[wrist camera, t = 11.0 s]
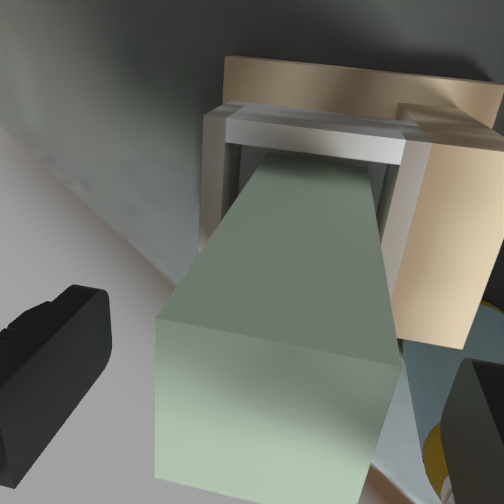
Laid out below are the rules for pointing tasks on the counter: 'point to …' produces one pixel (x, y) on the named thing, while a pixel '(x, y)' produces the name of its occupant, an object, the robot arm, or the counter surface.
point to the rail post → (280, 343)
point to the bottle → (446, 385)
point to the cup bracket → (378, 171)
